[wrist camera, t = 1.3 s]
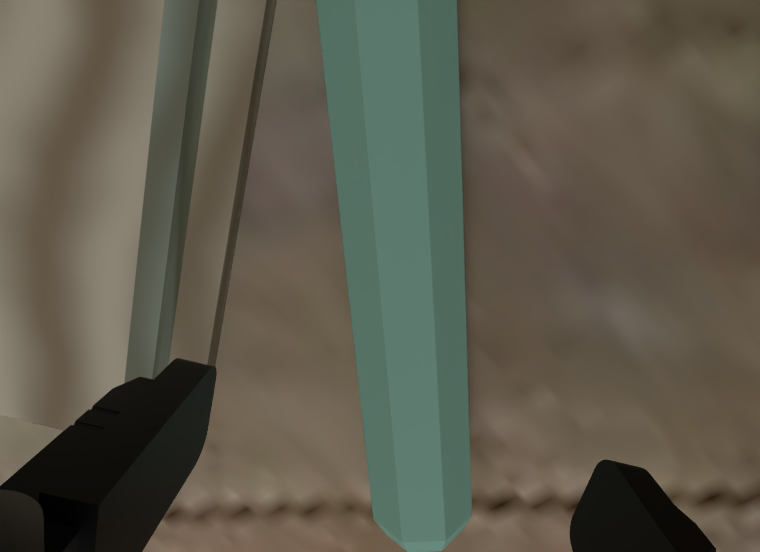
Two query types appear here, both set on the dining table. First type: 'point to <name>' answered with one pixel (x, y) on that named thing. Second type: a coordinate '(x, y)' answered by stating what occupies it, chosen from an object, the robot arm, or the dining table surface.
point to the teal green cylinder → (404, 254)
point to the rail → (119, 189)
